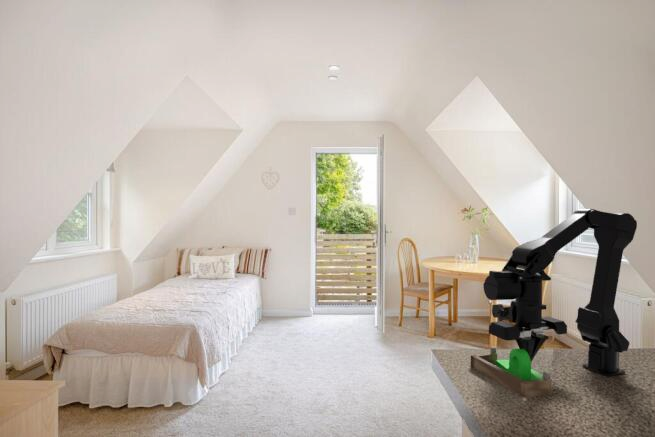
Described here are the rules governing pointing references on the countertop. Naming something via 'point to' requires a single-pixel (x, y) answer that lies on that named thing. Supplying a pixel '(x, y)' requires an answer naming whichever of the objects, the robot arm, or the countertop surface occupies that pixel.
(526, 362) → the mechanical part
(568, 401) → the countertop surface
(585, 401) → the countertop surface
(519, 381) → the dock bracket
